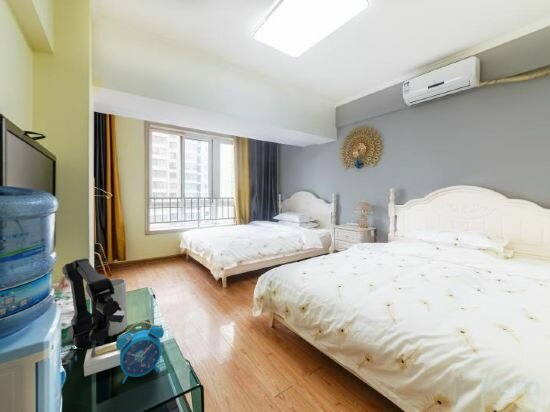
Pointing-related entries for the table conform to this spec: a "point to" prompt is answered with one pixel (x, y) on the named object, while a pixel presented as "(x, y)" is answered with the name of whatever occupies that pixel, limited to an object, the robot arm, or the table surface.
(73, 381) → the table surface
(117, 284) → the cylinder vase
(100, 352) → the brass clasp lever
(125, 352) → the alarm clock
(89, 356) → the box
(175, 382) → the table surface
